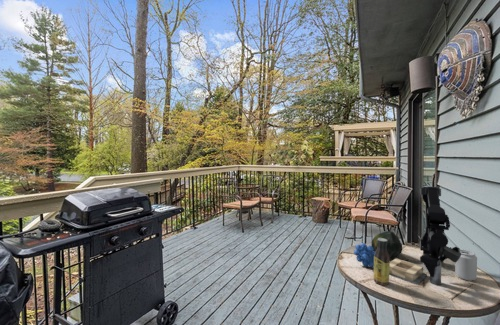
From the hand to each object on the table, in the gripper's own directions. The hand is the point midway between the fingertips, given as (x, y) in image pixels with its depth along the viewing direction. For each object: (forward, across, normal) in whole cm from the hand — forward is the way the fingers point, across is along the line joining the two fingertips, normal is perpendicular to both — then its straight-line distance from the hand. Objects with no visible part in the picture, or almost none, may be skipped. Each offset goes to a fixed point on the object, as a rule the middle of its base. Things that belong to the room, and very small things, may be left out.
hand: (435, 274), depth 110 cm
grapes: (+4, -9, +27) cm, 29 cm away
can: (+4, +16, -7) cm, 18 cm away
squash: (+4, +14, +27) cm, 31 cm away
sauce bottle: (+4, -18, +15) cm, 24 cm away
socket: (+4, -2, +12) cm, 13 cm away
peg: (+4, 0, 0) cm, 4 cm away
